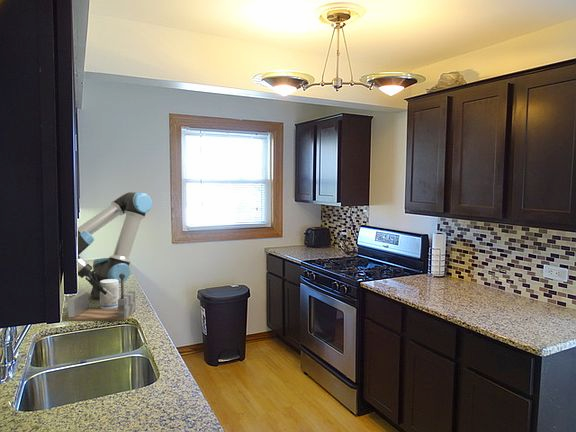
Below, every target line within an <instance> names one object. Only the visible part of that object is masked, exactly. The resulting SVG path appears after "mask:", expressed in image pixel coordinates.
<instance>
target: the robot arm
mask: <svg viewBox="0 0 576 432" xmlns="http://www.w3.org/2000/svg"><path fill="white" fill-rule="evenodd" d="M152 207H153V200H152V197H150V196H149V194H148V193H144V192H133V191H131V192H126V193H124V194H122V195H120V196H119V197H117V198H116V199H114V200H113V201H112V202H111V203H110V205H109V206H107V207H106V208H104V209H103V210H102V211H101V212H99V213H97V214H96V215H95V216H92V218H90V219H88V220H87V221H86V222H84V223H82V224H81V225H79V226H78V227H77V228H78V275H77V276H78V277H80V278H81V279H83V278H84V277H85V278H84V279H85V280H86V281H87V282H89V284H90V285H91V286H92V288H91V291H90V299H92V300H99V301H100V292H101V293H102V294H103V295H104V296H105V297H107V298H108V299H109V300H110V299H111V298H112V297H113V295H112V294H111V293H110V292H109V291H107V290H106V289H105V288H103V287H102V286H101V285H100V281H102V280H106V279H117V280H118V281H119V284H121V279H120V278H119V275H120V274H122V273H123V274H125V278H124V282H127V281H128V279H129V278H130V276H131V268H130V264H131V261H130V259H129V257H130V255H131V251H132V248H133V246H134V243H135V240H136V236H137V232H138V230H139V227H140V224H141V221H142V220H143V219H144V218H146V217H145V216H146V214H147V213H148V212H150V211H151V210H152ZM124 214H125V217H124V221H123V223H122V227H121V229H120V234H119V236H118V239H117V242H116V245H115V248H114V251H113V254H112V255H110V256H109V257H103V258H101V257H100V258H96V259H94V260H93V262H92V266H91V264H89V263H87V261H86V260H85V259H83V257H81V256H80V254H82V253H83V252H84V251H85V250H86V249H88V247H90V245H92V244H93V242H94V241H95V238H94V236H93V234H95V233H96V232H97V231H99V230H100V229H102V228H103V227H104V226H106V225H107V224H109V223H110V222H112V221H113V220H115V218H118V216H123V215H124Z"/></svg>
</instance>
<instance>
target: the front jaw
mask: <svg viewBox="0 0 576 432" xmlns="http://www.w3.org/2000/svg"><path fill="white" fill-rule="evenodd" d="M87 309H89V291H80V292H79V293H78V294H75V295H73V296H72V297H70V298H67V313H68V314H67V317H68V318H70V317H76V316H78V315H79V314H81V313H82V312H84V311H86V310H87Z"/></svg>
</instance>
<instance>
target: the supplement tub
mask: <svg viewBox="0 0 576 432" xmlns="http://www.w3.org/2000/svg"><path fill="white" fill-rule="evenodd" d="M100 285H101V286H102V287H103V288H105V289H106V290H107V291H109V292H110V293H111V294H112V295H113V297H112V298H111V299H110V300H109V299H108V298H107V297H105V296H104V295H103V294H102V293H101V292H100V300H99V307H100V308H99V309H118V299H119V298H120V283H119V281H118V280H117V279H106V280H102V281H100Z"/></svg>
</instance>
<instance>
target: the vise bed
mask: <svg viewBox="0 0 576 432" xmlns="http://www.w3.org/2000/svg"><path fill="white" fill-rule="evenodd" d="M119 278H120V279H121V283H120V297H119V299H118V307H117V308H115V309H101V308H88V309H87V310H86V311H84V312H82V313H81V314H79V315H78V316H76V317H70V318H68V316H67V317H66V318H65V322H89V321H90V322H98V321H99V322H100V321H101V322H107V321H108V322H115V321H116V322H124V321H126V320H127V319H128V318H129V317H130V316H131V314H132V315H133V314H134V313H135V312H136V291H128V292H126V293H125V292H124V287H125V286H124V285H125V284H124V283H125V281H124V278H125V274H123V273H122V274H120V275H119ZM124 293H125V294H124Z"/></svg>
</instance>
